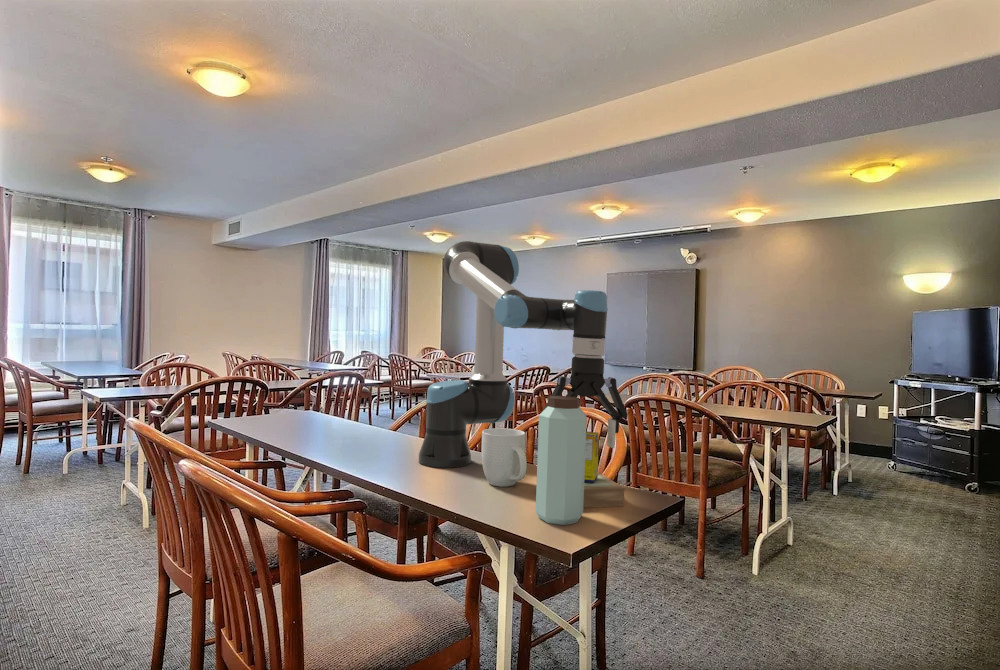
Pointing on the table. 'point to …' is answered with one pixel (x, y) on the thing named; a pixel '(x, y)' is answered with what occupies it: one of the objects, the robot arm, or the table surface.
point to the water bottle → (561, 461)
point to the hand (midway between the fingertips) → (583, 446)
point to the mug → (503, 456)
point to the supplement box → (591, 457)
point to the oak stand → (603, 493)
